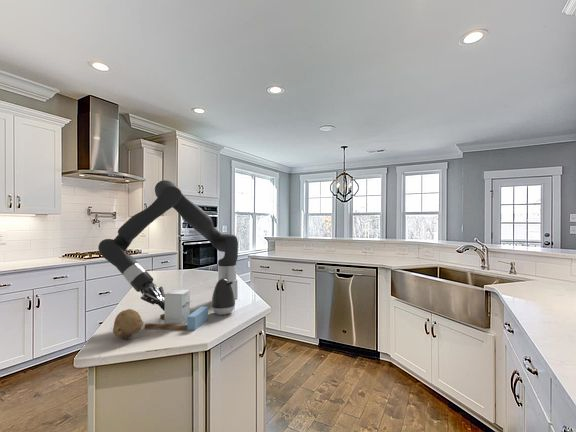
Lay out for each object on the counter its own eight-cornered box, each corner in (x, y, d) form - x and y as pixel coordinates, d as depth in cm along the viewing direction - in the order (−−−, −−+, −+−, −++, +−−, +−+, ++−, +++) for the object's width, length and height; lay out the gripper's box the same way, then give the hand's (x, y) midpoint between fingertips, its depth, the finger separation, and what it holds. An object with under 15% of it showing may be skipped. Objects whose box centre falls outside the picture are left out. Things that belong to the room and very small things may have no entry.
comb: (144, 328, 115) (144, 324, 115) (162, 317, 128) (162, 313, 128) (187, 329, 114) (187, 325, 114) (201, 318, 127) (201, 314, 127)
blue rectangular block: (187, 329, 114) (187, 316, 114) (201, 318, 127) (200, 306, 127) (195, 330, 113) (195, 316, 113) (208, 318, 126) (207, 306, 126)
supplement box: (181, 326, 117) (181, 293, 117) (163, 326, 118) (163, 293, 118) (190, 320, 124) (190, 289, 124) (173, 319, 125) (173, 289, 125)
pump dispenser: (224, 318, 126) (223, 281, 126) (206, 314, 132) (206, 279, 132) (240, 312, 135) (240, 277, 135) (223, 308, 140) (222, 275, 141)
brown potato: (147, 333, 110) (147, 306, 110) (134, 343, 101) (134, 313, 102) (123, 333, 111) (123, 306, 111) (107, 343, 102) (107, 313, 102)
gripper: (141, 280, 130) (168, 310, 128) (121, 287, 116) (151, 320, 115) (153, 268, 129) (181, 298, 127) (134, 273, 116) (164, 307, 114)
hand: (166, 308), depth 121 cm, fingers closed
